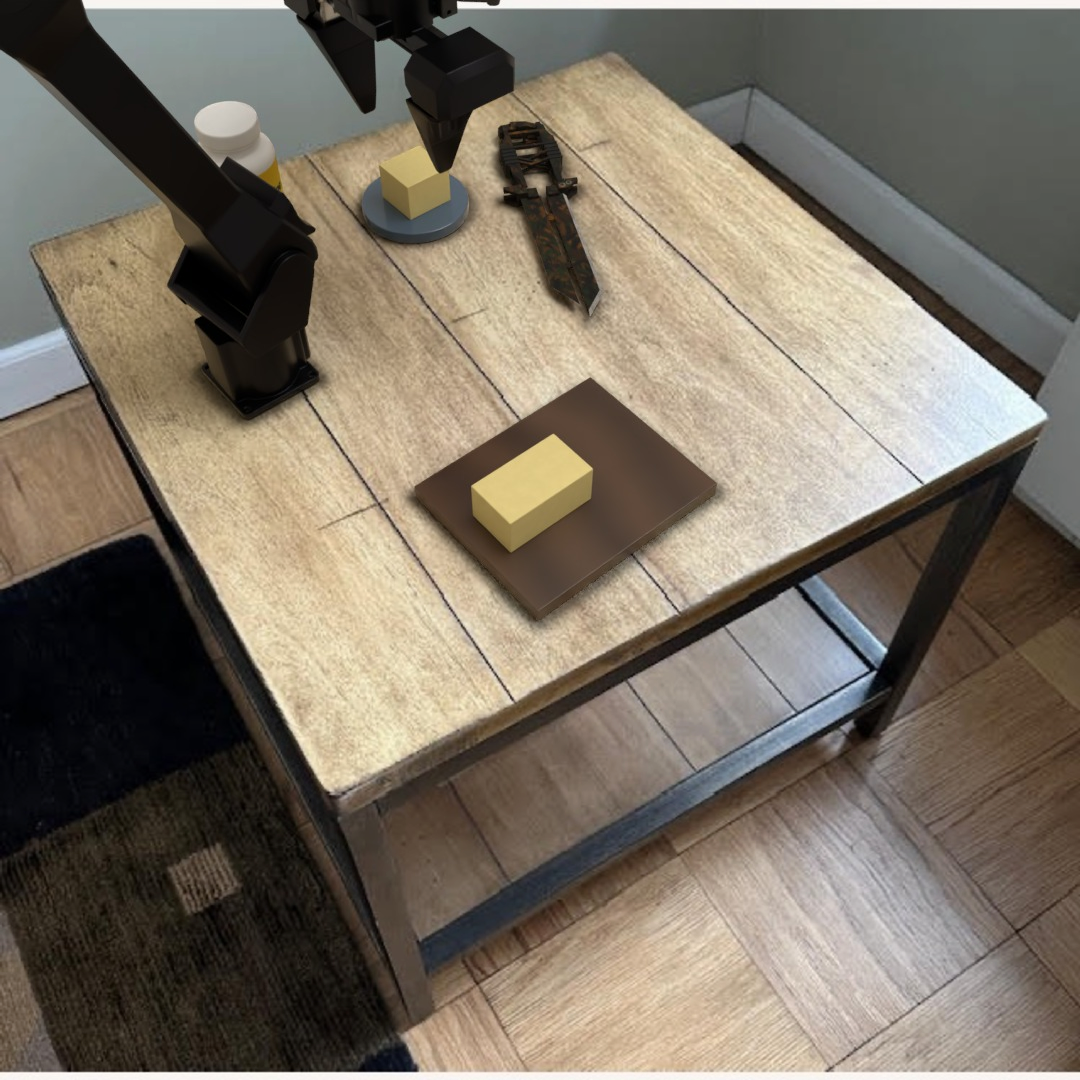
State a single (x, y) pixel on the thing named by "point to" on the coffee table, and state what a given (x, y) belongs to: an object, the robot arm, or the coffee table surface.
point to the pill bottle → (237, 139)
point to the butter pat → (413, 183)
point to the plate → (421, 228)
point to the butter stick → (531, 492)
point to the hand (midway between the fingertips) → (405, 140)
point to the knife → (558, 205)
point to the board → (594, 527)
